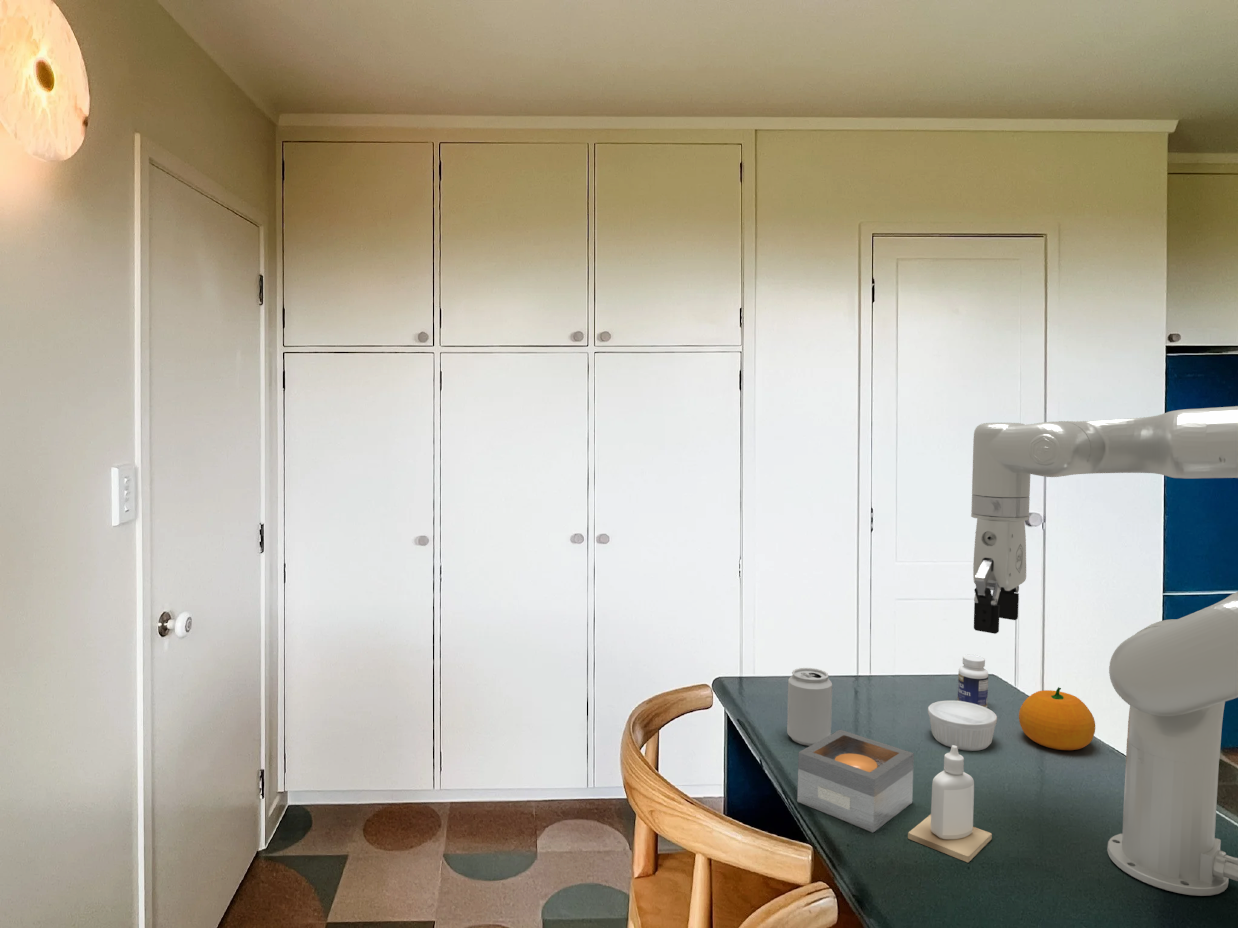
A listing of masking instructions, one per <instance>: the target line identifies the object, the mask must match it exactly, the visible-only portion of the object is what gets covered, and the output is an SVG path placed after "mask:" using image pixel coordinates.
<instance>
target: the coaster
mask: <svg viewBox="0 0 1238 928" xmlns="http://www.w3.org/2000/svg"><path fill="white" fill-rule="evenodd" d="M992 835H993V834H992V832H989V831H987V830H984V829H980V828H978V827H976V826H973V831H972V833H971V834H970V835H968V836H966V837H964V838H960V839H941V838H939V837H938V836H937V835H935V834H934V833H932V831H931V813H930V814H929V815H927V817H925V818H924V819H923V820H922V821H921V822H919V823H918V824H916V826H914V827H913V828H912V829H911V830H909V831H908V832H907V840H911V841H913V842H915V843H918V844H921V845H923V846H925V847H928V848H931V849H933V850H935V851H938V852H941V853H943V854H946V855H948V856H950V857H953V858H954V859H957V860H960V861H963V862H966V863H970V861H972V860H973V858H975V857H976V856H977V855H978V854H979V853H980V852H981V850H982V849H984V847H986V846H987V845H988V843H989V842H991V840H992V839H993V838H992Z"/></svg>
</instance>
